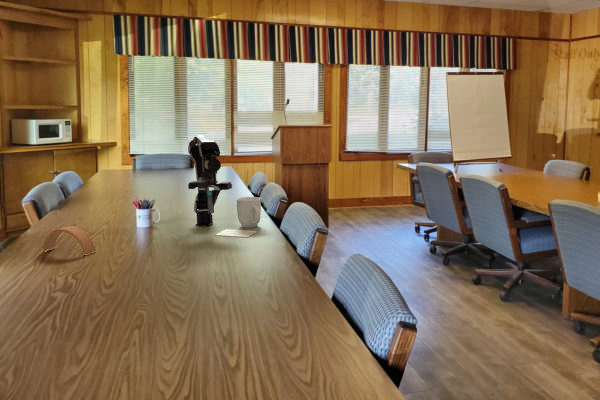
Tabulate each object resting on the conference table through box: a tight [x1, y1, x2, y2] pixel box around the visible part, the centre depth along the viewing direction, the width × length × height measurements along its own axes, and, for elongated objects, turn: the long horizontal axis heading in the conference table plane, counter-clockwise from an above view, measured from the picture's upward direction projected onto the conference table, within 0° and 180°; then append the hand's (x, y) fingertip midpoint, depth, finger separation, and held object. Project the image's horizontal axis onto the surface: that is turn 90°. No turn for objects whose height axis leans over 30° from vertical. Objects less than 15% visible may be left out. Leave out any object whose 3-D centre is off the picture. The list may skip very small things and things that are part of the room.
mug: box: [236, 196, 262, 229], centre depth 250 cm, size 15×11×13 cm
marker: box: [207, 189, 215, 214], centre depth 240 cm, size 3×3×10 cm
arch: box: [42, 225, 96, 255], centre depth 211 cm, size 6×20×10 cm, turn 71°
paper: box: [215, 228, 258, 238], centre depth 238 cm, size 15×11×1 cm
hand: (210, 204), depth 241 cm, fingers closed on marker, 3 cm apart
